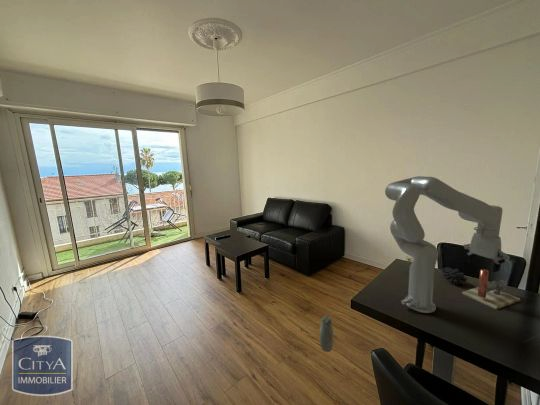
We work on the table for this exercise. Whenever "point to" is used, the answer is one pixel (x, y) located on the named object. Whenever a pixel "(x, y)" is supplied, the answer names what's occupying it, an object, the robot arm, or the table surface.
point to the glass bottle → (326, 334)
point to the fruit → (454, 276)
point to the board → (492, 298)
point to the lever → (485, 288)
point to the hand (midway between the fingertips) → (482, 267)
